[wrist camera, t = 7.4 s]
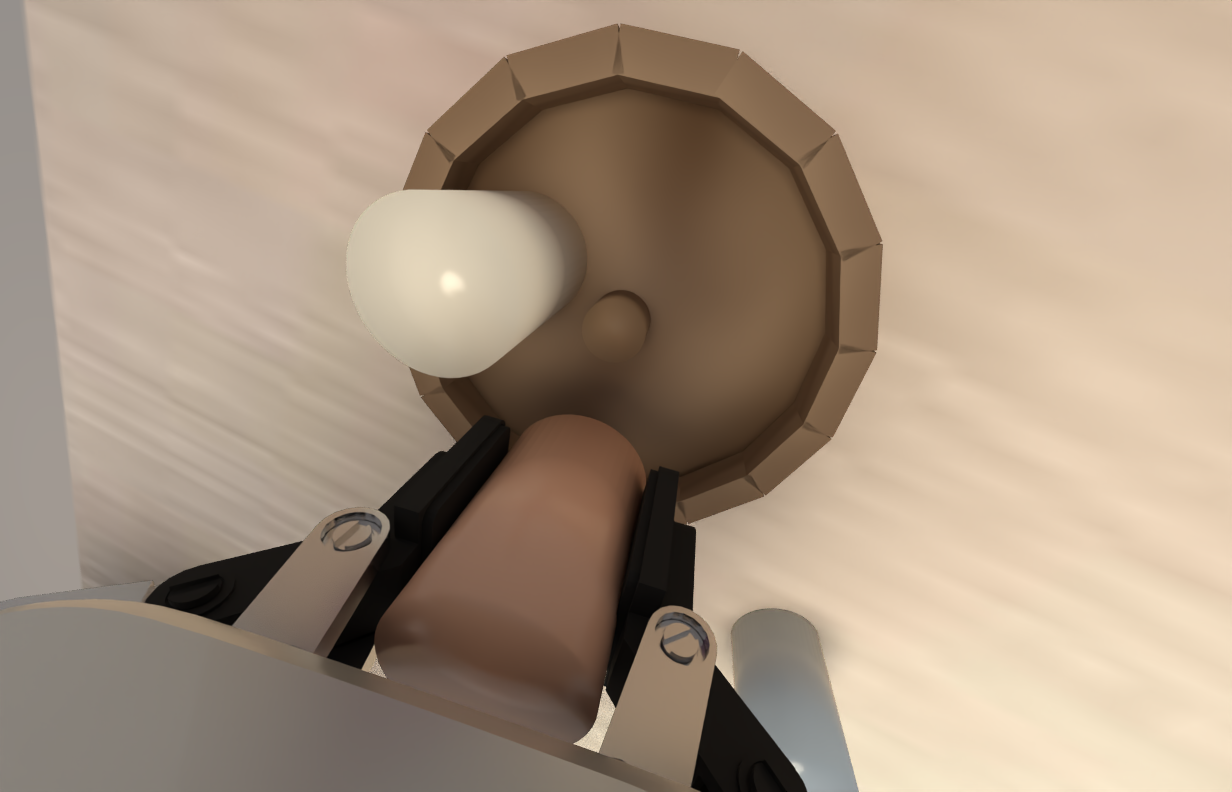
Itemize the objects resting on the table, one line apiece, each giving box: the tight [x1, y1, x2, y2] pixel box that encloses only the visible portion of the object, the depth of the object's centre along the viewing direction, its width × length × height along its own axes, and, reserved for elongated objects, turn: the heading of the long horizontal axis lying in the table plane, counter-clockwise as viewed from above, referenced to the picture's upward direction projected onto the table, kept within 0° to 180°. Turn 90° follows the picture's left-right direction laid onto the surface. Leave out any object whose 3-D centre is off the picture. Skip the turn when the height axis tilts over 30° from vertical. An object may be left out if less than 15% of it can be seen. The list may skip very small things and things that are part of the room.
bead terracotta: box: [374, 414, 646, 744], centre depth 10 cm, size 4×4×6 cm
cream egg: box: [346, 190, 587, 378], centre depth 12 cm, size 4×4×6 cm
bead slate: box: [731, 609, 859, 792], centre depth 19 cm, size 4×4×6 cm
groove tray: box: [403, 24, 883, 524], centre depth 15 cm, size 15×15×2 cm
